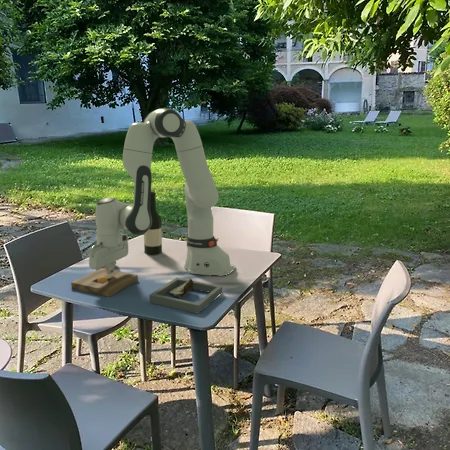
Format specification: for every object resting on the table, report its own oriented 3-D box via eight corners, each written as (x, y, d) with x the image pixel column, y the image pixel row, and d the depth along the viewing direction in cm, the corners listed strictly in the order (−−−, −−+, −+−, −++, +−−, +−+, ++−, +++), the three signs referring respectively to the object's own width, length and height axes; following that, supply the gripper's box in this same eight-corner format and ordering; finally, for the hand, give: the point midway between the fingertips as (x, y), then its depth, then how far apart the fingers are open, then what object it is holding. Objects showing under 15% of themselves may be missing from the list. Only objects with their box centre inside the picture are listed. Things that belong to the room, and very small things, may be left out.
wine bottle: (145, 249, 220) (143, 189, 212) (162, 249, 221) (161, 189, 213) (144, 255, 212) (142, 193, 204) (161, 254, 213) (160, 192, 205)
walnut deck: (137, 280, 181) (137, 274, 180) (109, 296, 165) (108, 290, 164) (102, 273, 188) (102, 267, 187) (71, 288, 172) (71, 282, 171)
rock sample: (171, 278, 173) (183, 269, 167) (187, 290, 175) (198, 281, 169) (160, 298, 166) (172, 289, 160) (176, 310, 167) (188, 301, 162)
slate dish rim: (222, 293, 169) (222, 286, 169) (198, 313, 153) (198, 305, 152) (176, 284, 177) (176, 277, 176) (149, 302, 160) (149, 294, 160)
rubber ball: (102, 286, 172) (108, 287, 175) (104, 276, 172) (110, 277, 176) (94, 284, 173) (100, 285, 177) (96, 274, 174) (102, 275, 177)
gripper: (97, 247, 164) (99, 283, 167) (130, 234, 182) (131, 266, 185) (83, 245, 166) (86, 280, 170) (117, 232, 184) (119, 264, 188)
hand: (110, 272), depth 178 cm, fingers closed
